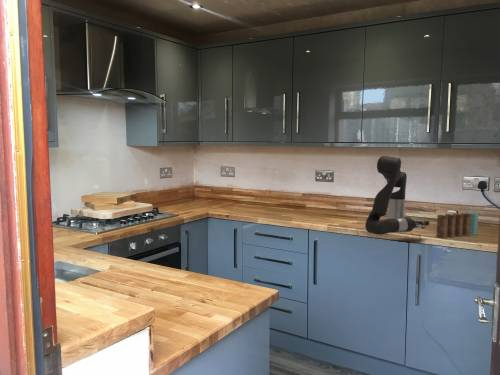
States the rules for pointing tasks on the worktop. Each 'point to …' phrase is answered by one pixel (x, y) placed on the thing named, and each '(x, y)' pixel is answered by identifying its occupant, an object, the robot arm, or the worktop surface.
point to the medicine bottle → (452, 211)
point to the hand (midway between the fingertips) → (428, 222)
